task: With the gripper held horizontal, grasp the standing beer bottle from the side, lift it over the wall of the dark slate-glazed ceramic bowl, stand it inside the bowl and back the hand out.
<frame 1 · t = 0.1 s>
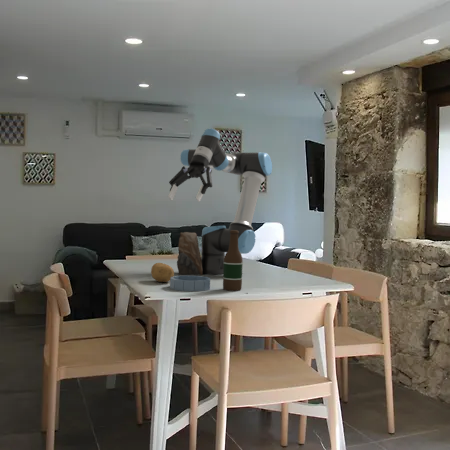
hand: (183, 199, 235), 36 cm above the table, tool tilted 35°, fingers open, 13 cm apart
beer bottle: (232, 290, 232), on the table
potato: (162, 282, 246), on the table
bowl: (190, 287, 232), on the table
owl: (190, 274, 278), on the table
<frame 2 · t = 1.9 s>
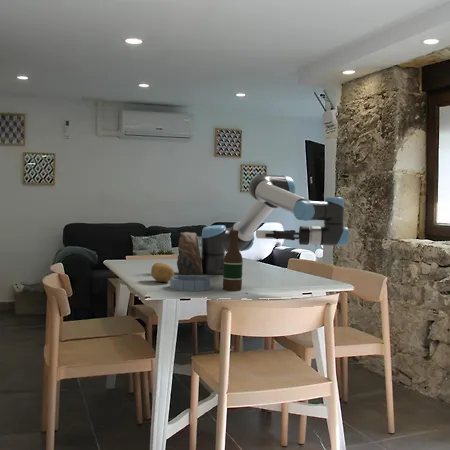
hand: (256, 234, 231), 23 cm above the table, tool horizontal, fingers open, 13 cm apart
nothing on the table moved.
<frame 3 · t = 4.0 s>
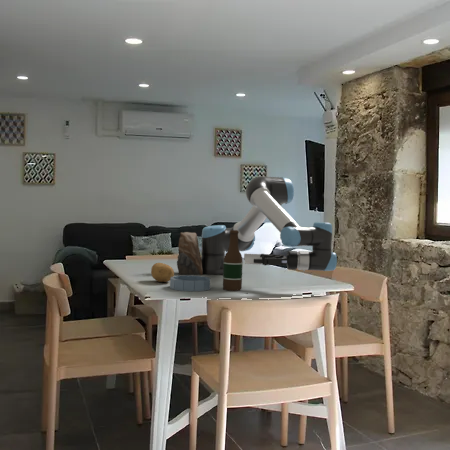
hand: (244, 258, 231), 13 cm above the table, tool horizontal, fingers open, 13 cm apart
nothing on the table moved.
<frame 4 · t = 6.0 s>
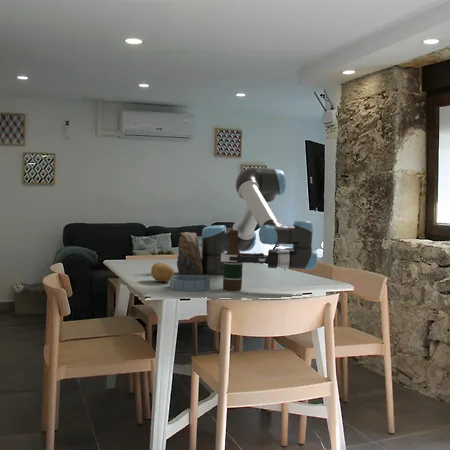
hand: (221, 257, 231), 13 cm above the table, tool horizontal, fingers closed on beer bottle, 7 cm apart
beer bottle: (232, 290, 232), on the table, touching gripper
everything else where it was.
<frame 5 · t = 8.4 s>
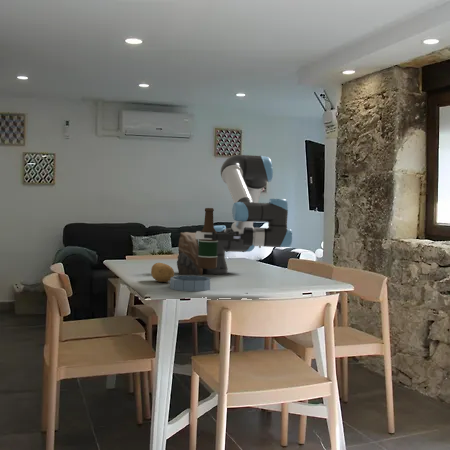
hand: (196, 234, 230), 22 cm above the table, tool horizontal, fingers closed on beer bottle, 7 cm apart
beer bottle: (207, 268, 231), point 8 cm above the table, touching gripper
everything else where it was.
when the fingers open (15 cm above the table, at t = 11.0 s): beer bottle stays where it is, resting on bowl.
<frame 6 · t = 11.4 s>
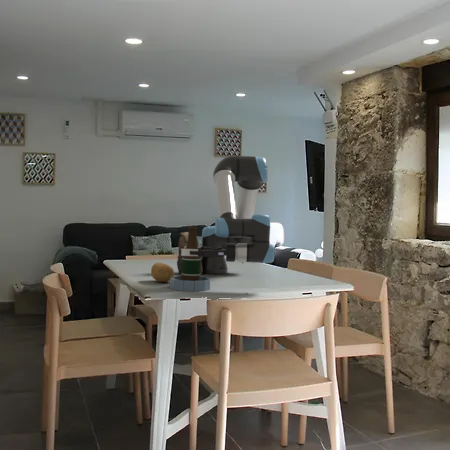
hand: (182, 250, 232), 15 cm above the table, tool horizontal, fingers open, 12 cm apart
beer bottle: (190, 285, 232), point 1 cm above the table, touching bowl
everything else where it was.
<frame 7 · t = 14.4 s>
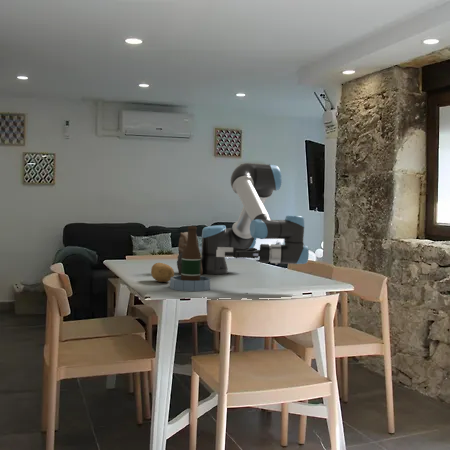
hand: (216, 251, 231), 15 cm above the table, tool horizontal, fingers open, 13 cm apart
nothing on the table moved.
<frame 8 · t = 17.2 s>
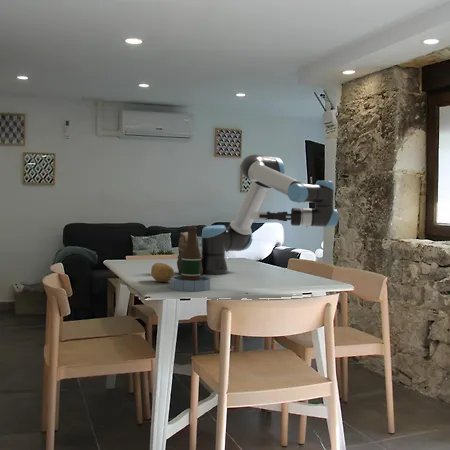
hand: (250, 215, 244), 30 cm above the table, tool horizontal, fingers open, 13 cm apart
nothing on the table moved.
at the end: beer bottle 0.1 cm off-centre on the bowl, point 0.8 cm above the bowl's base; beer bottle tilted 0°; the gripper is holding nothing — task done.
